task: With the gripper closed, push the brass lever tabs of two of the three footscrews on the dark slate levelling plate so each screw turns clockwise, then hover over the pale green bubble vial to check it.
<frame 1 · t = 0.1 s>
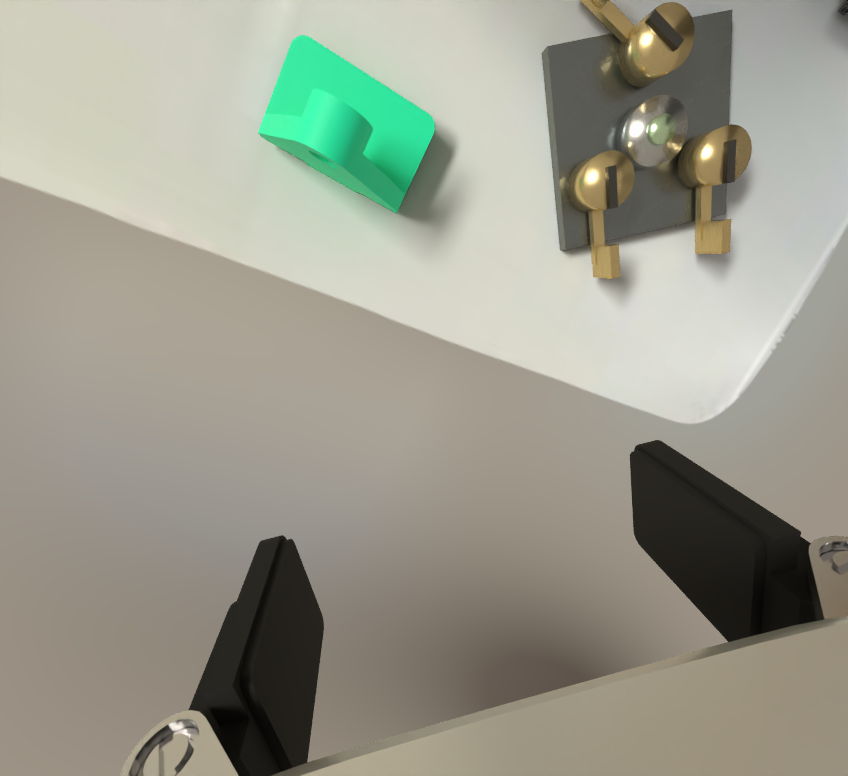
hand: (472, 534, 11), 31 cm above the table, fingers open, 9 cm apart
footscrew A: (603, 218, 37), point 3 cm above the table, hinge at 0.0°
levelling plate: (635, 140, 38), on the table
camera mount: (352, 136, 35), on the table
footscrew B: (714, 193, 37), point 3 cm above the table, hinge at 0.0°
footscrew C: (631, 19, 32), point 3 cm above the table, hinge at 0.0°
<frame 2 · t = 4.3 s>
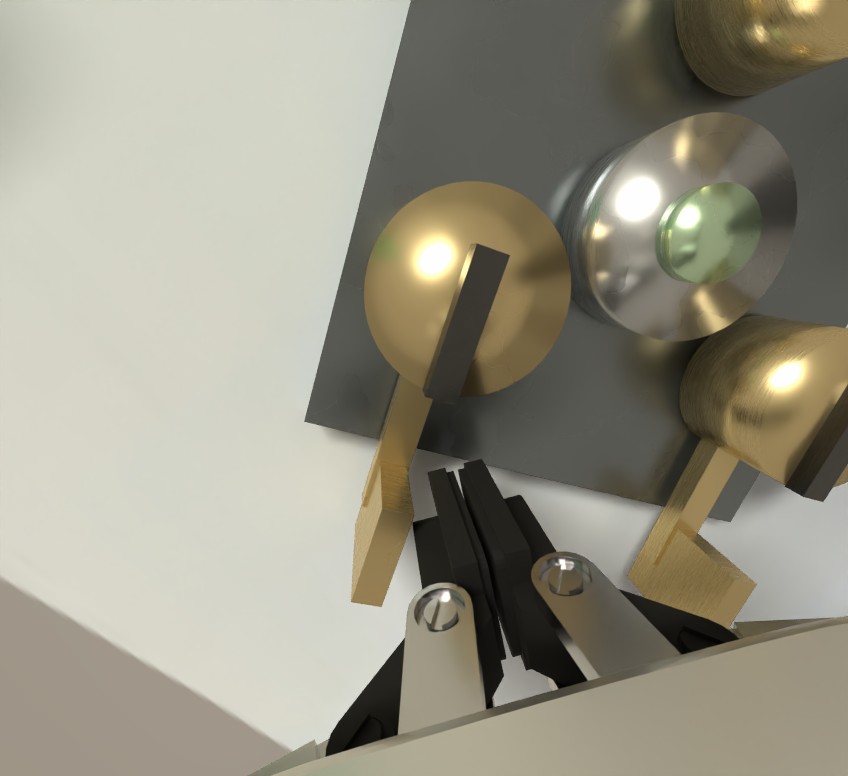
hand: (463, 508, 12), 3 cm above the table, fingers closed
footscrew A: (421, 402, 11), point 3 cm above the table, hinge at -0.3°, touching gripper
levelling plate: (622, 239, 13), on the table
footscrew B: (743, 486, 13), point 3 cm above the table, hinge at 0.0°
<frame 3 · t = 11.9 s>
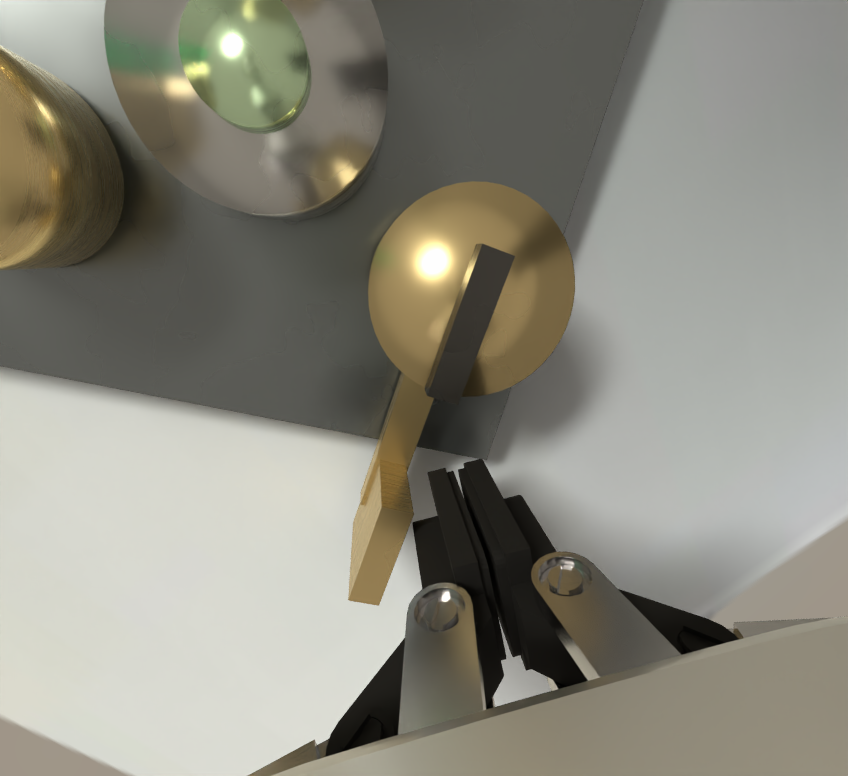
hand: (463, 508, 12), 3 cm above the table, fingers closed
levelling plate: (285, 119, 11), on the table
footscrew B: (422, 402, 11), point 3 cm above the table, hinge at -4.0°, touching gripper
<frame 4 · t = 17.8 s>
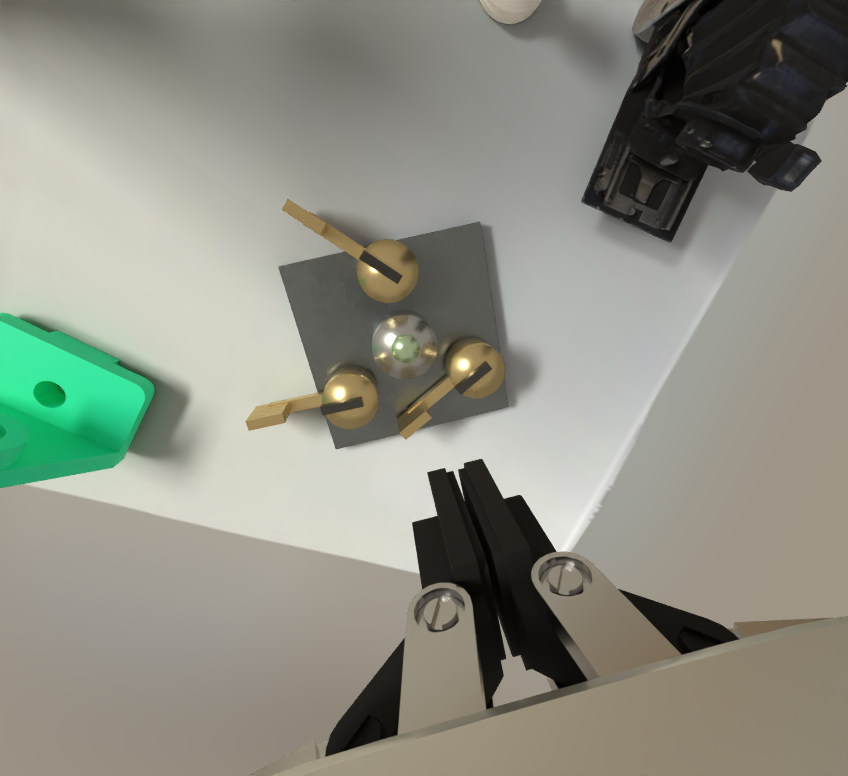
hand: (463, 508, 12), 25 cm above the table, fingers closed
footscrew A: (315, 405, 34), point 3 cm above the table, hinge at -91.6°
levelling plate: (402, 339, 36), on the table
camera mount: (74, 383, 34), on the table
footscrew B: (447, 390, 35), point 3 cm above the table, hinge at -62.0°
footscrew C: (353, 248, 30), point 3 cm above the table, hinge at 0.0°
vintage camera: (647, 130, 33), on the table
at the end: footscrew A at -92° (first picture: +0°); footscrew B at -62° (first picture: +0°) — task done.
